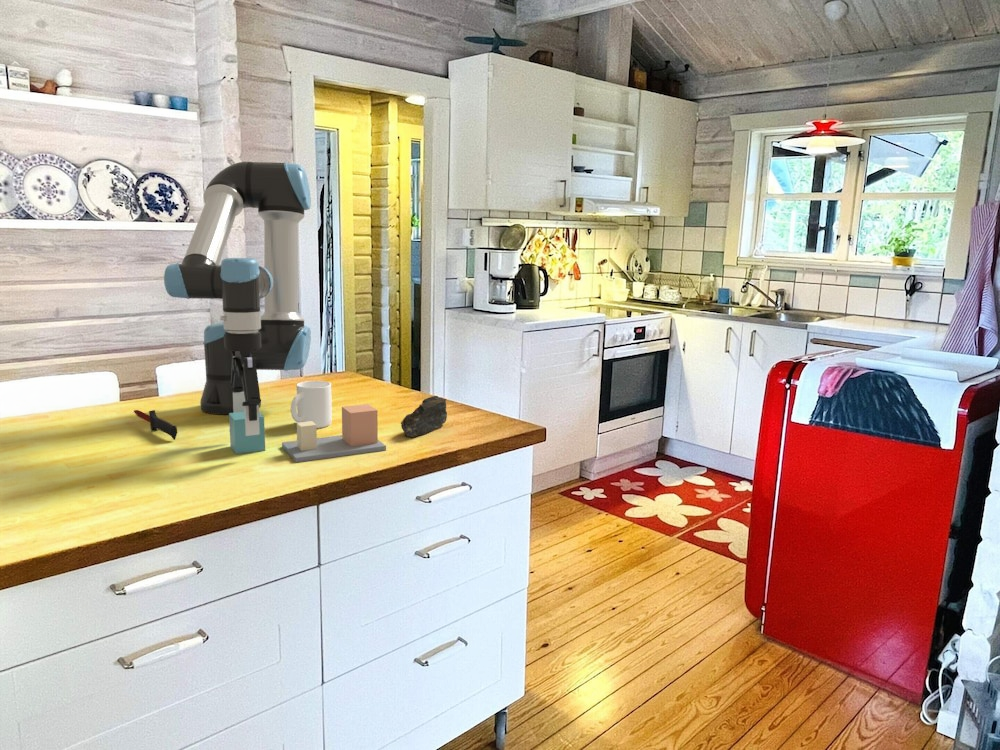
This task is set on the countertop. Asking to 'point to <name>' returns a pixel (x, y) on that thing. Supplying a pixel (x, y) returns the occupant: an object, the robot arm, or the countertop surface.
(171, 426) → the knife
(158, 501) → the countertop surface
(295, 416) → the mug
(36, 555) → the countertop surface
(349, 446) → the grey base with blocks
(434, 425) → the stone
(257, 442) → the teal upright block
